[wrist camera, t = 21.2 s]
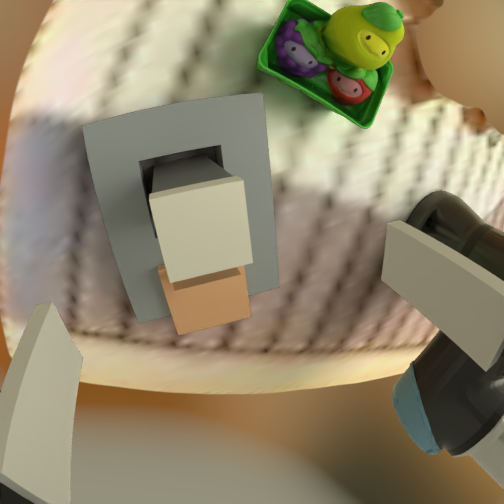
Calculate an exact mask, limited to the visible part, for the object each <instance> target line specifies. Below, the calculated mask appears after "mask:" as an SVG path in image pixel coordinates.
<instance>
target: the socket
mask: <svg viewBox="0 0 504 504" xmlns="http://www.w3.org/2000/svg"><path fill="white" fill-rule="evenodd" d="M82 129H83V135H84V140H85V146H86V151H87V156H88V161H89V166H90V170H91V175H92V179H93V183H94V187H95V191H96V195H97V199H98V203H99V207H100V211H101V214H102V218H103V222H104V225H105V228H106V232H107V235H108V239H109V242H110V245H111V248H112V251H113V254H114V257H115V260H116V263H117V266H118V269H119V272H120V275H121V278H122V281H123V283H124V286H125V289H126V292H127V294H128V297H129V300H130V302H131V305H132V307H133V310H134V312H135V315H136V317H137V320H138V322H139V323H141V322H145V321H150V320H154V319H158V318H163V317H167V316H171V312H170V308H169V305H168V302H167V299H166V296H165V293H164V289H163V286H162V283H161V279H160V276H159V273H158V266H160V265H164V264H165V263H164V259H163V255H162V252H161V248H160V244H159V240H158V236H157V232H156V228H155V224H154V219H153V215H152V211H151V206H150V202H149V197H148V193H147V188H146V183H145V178H144V173H143V168H142V163H141V161H142V160H146V159H150V158H155V157H159V156H164V155H168V154H173V153H178V152H183V151H188V150H194V149H199V148H205V147H210V146H214V147H215V155H216V162H217V164H218V165H219V166H220V167H222V168H223V169H224V170H226V171H227V172H228V173H230V174H231V175H232V176H238V177H240V178H241V179H242V180H244V189H245V198H246V206H247V215H248V223H249V232H250V241H251V249H252V258H253V263H251V264H247V265H244V268H245V276H246V283H247V291H248V296H250V295H254V294H258V293H261V292H265V291H269V290H272V289H276V288H279V274H278V259H277V245H276V231H275V218H274V206H273V194H272V182H271V170H270V159H269V148H268V138H267V128H266V118H265V108H264V98H263V93H250V94H239V95H229V96H221V97H213V98H205V99H198V100H192V101H186V102H180V103H174V104H169V105H163V106H158V107H153V108H149V109H144V110H140V111H135V112H131V113H127V114H123V115H119V116H115V117H112V118H108V119H104V120H101V121H97V122H94V123H91V124H87V125H84V126H82Z"/></svg>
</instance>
